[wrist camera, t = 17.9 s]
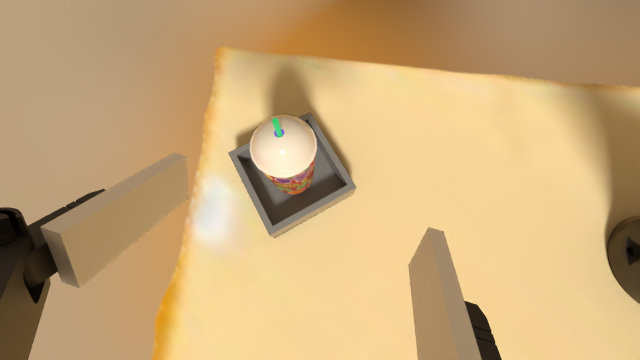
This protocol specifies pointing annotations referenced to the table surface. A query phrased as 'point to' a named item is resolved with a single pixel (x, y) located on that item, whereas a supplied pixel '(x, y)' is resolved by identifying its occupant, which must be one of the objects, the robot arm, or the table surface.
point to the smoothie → (285, 152)
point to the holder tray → (296, 208)
